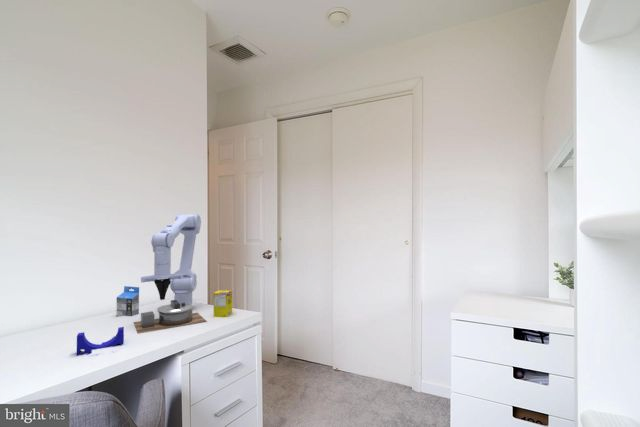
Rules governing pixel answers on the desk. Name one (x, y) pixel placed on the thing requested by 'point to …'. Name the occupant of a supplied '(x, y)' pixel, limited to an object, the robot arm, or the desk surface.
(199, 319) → the walnut board
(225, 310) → the supplement box
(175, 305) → the lid
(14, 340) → the desk surface
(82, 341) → the cable clip
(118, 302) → the grey blue carton
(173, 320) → the grey dish and cube
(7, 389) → the desk surface
